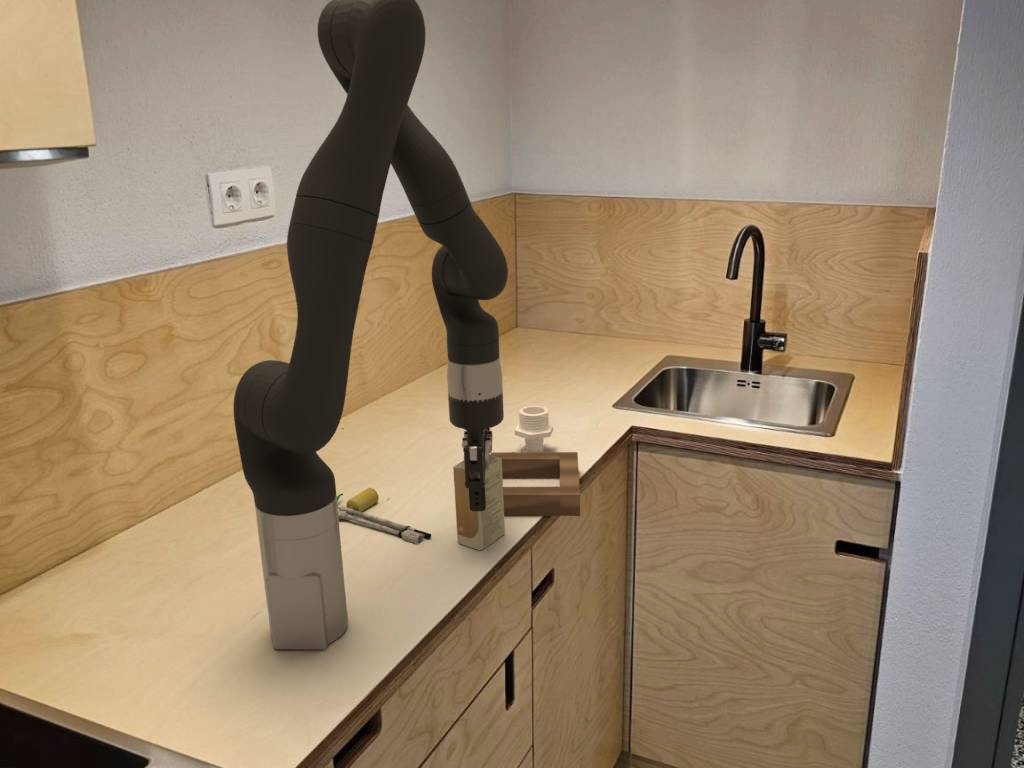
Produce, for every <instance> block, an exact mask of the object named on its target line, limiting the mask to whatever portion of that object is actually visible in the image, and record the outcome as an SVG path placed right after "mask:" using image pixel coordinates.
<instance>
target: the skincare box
mask: <svg viewBox="0 0 1024 768" xmlns="http://www.w3.org/2000/svg"><path fill="white" fill-rule="evenodd" d="M452 469H453V484H454V485H453V486H454V502H455V518H456V536H457V544H460V545H463V546H465V547H468V548H471V549H475V550H478V551H482V550H483V549H485V548H486V547H488V546H490V545H491V544H493V543H494V542H495V541H497V539H499V538H501V537H503V535H504V534H505V533H506V530H505V529H506V527H505V516H504V501H503V487H504V483H503V482H504V481H503V480H504V479H503V477H502V458H499V457H495V456H491V455H489V469H488V470H487V471H486V484H485V495H486V509H485V510H484V511H471V510H470V504H469V488H466V486H465V468H464V460H463V461H461V462H459V463H456V464H455V465H454V466H453V468H452ZM471 478H480V473H479V472H471Z"/></svg>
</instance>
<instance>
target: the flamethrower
mask: <svg viewBox="0 0 1024 768" xmlns="http://www.w3.org/2000/svg"><path fill="white" fill-rule="evenodd" d="M341 496H344V493H343V492H342V493H339V494H338V495H337V503H338V502H339V499H340V498H341ZM379 499H380V498H379V494H378V492H377V490H376V489H375V488H372V487H367V488H366V489H365V490H362V491H361V492H359V493H358V494H356V495H355V496H353V497H351V498H349V499H348V500H347V501H346V506H344V505H342V506H338V517H339V518H338V519H339V522H341V521H342V520H347V521H348V520H349V521H351V522H355V523H358V524H362V525H365V526H368V527H370V528H371V527H372V528H374V529H377V530H380V531H382V532H383V531H384V532H387V533H390V534H394V535H396V536H398V538H401V539H402V540H403V541H405V542H408V543H412V544H415V545H419V544H420V542H423V541H424V538H427V539H431V538H432V534H431V533H428V532H426V531H423V530H419V529H416V528H413V527H411V526H410V525H404V524H400V523H398V522H394V521H392V520H388V519H386V518H381V517H378V516H374V515H371V514H369V513H365V512H364V511H365V510H368V509H369V508H370V507H372V506H373V505H375V504H377V503H378V501H379ZM419 541H420V542H419Z"/></svg>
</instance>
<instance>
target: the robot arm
mask: <svg viewBox="0 0 1024 768" xmlns="http://www.w3.org/2000/svg"><path fill="white" fill-rule="evenodd" d="M424 18H425V17H424V15H423V12H422V9H421V7H420V5H419V3H418V2H417V0H330V1H329V2H327V4H326V5H325V6H324V7H323V9H322V10H321V13H320V16H319V17H318V21H317V40H318V45H319V48H320V51H321V53H322V55H323V57H324V58H323V59H325V61H326V63H327V65H328V67H329V69H330V70H331V72H332V73H333V75H334V76H335V78H336V80H337V81H338V83H339V84H340V86H341V87H342V89H343V90H344V91H345V93H346V99H345V102H344V104H343V107H342V110H341V112H340V114H339V116H338V119H337V120H336V122H335V123H334V125H333V127H332V128H331V130H330V132H329V133H328V134H327V136H326V137H325V139H324V141H323V142H322V144H321V145H320V146H319V147H318V148H317V151H316V152H315V153H314V155H313V157H312V158H311V160H310V162H309V163H308V165H307V167H306V169H305V170H304V172H303V174H302V177H301V179H300V182H299V183H298V187H297V190H296V195H295V199H294V203H293V208H292V211H291V217H290V221H289V224H288V230H287V238H286V253H287V260H288V267H289V272H290V277H291V281H292V286H293V291H294V297H295V302H296V310H297V312H296V313H297V319H296V320H297V321H296V330H295V336H294V341H293V346H292V352H291V357H290V360H289V362H286V361H282V360H274V359H271V360H270V359H269V360H263V361H260V362H257V363H255V364H253V365H252V366H250V367H249V368H248V369H247V370H245V372H244V373H243V375H242V376H241V377H240V379H239V381H238V383H237V385H236V389H235V392H234V398H233V420H234V421H233V422H234V428H235V434H236V439H237V444H238V445H237V446H238V451H239V455H240V462H241V467H242V472H243V475H244V479H245V481H246V484H247V485H248V486H249V489H250V490H251V492H252V495H253V499H254V500H253V501H254V507H255V518H256V525H257V526H256V527H257V533H258V542H259V549H260V550H259V551H260V557H261V558H260V559H261V567H262V576H263V582H264V591H265V592H264V593H265V598H266V607H267V615H268V623H269V624H268V625H269V631H270V633H269V634H270V637H271V639H272V645H273V649H274V650H326V649H327V648H328V646H329V644H331V643H332V642H333V641H335V640H337V639H338V638H340V637H341V636H342V635H343V634H344V633H345V632H346V630H347V628H348V626H349V617H348V608H347V606H348V605H347V596H346V595H347V594H346V585H345V576H344V574H345V573H344V565H343V564H344V563H343V554H342V553H343V551H342V544H341V543H342V542H341V530H340V519H338V518H339V517H338V511H339V509H338V507H339V505H338V502H337V496H338V495H337V487H336V479H335V478H336V477H335V474H334V472H333V470H332V469H331V468H330V466H329V465H328V464H327V463H326V462H325V461H324V460H323V459H322V458H321V457H320V456H319V455H318V453H317V452H319V451H320V450H322V449H323V448H324V447H325V446H326V445H327V444H328V443H329V442H330V441H331V440H332V438H333V437H334V435H335V434H336V431H337V429H338V427H339V425H340V422H341V419H342V416H343V412H344V408H345V407H344V406H345V401H346V394H347V387H348V379H349V371H350V370H349V369H350V361H351V354H352V353H351V352H352V345H353V337H354V330H355V326H356V320H357V315H358V311H359V306H360V305H359V304H360V302H361V301H360V300H361V297H362V290H363V285H364V281H365V275H366V271H367V267H368V264H369V263H368V262H369V260H370V259H369V258H370V255H371V252H372V248H373V244H374V239H375V235H376V230H377V226H378V221H379V218H380V217H379V216H380V212H381V205H382V201H383V195H384V190H385V187H386V183H387V180H388V175H389V171H390V168H391V166H392V169H393V170H394V172H395V174H396V176H397V179H398V180H399V183H400V185H401V187H402V189H403V191H404V193H405V195H406V198H407V200H408V202H409V205H410V207H411V208H412V210H413V212H414V215H415V217H416V219H417V222H418V224H419V227H420V228H421V230H422V232H423V233H424V235H425V236H426V237H427V238H428V239H430V240H432V241H433V242H436V243H438V244H439V245H441V246H440V248H439V249H438V250H437V252H436V253H435V255H434V258H433V261H432V264H431V281H432V282H431V283H432V287H433V288H432V289H433V292H434V295H435V298H436V301H437V304H438V309H439V312H440V315H441V319H442V321H443V323H444V326H445V330H446V350H447V351H446V352H447V369H446V371H447V373H446V379H447V381H446V382H447V399H448V413H449V415H448V416H449V417H448V419H449V422H450V424H451V425H452V426H454V427H455V428H457V429H461V430H464V431H463V436H464V437H462V438H461V439H462V441H461V442H462V445H461V447H462V449H463V450H462V452H463V461H464V468H465V486H466V488H469V504H470V510H471V511H484V510H485V509H486V495H485V484H486V471H487V470H488V469H489V455H491V453H490V452H493V436H494V434H493V433H494V432H493V430H491V428H494V427H496V426H498V425H500V424H501V423H502V422H503V420H504V419H505V418H504V413H505V412H504V390H503V389H504V387H503V371H502V364H501V358H500V337H499V336H500V335H499V324H498V321H497V320H496V318H495V317H494V316H493V315H492V314H490V313H489V312H487V311H486V310H485V309H483V307H482V306H481V304H480V301H490V300H493V299H495V298H497V297H498V296H500V295H501V293H502V292H503V291H504V289H506V285H507V282H508V277H509V268H508V262H507V259H506V256H505V253H504V251H503V249H502V248H501V246H500V244H499V243H498V241H497V240H496V237H494V235H493V234H492V233H491V231H490V230H489V228H488V226H487V225H486V224H485V223H484V221H483V219H482V218H481V217H480V216H479V215H478V214H477V213H476V210H475V209H474V207H473V206H472V202H471V200H470V197H469V195H468V192H467V190H466V187H465V185H464V182H463V181H462V178H461V175H460V173H459V171H458V168H457V166H456V164H455V163H454V161H453V159H452V158H451V156H450V155H449V153H448V151H447V150H446V149H445V148H444V147H443V145H442V144H441V143H440V142H439V141H438V140H437V139H436V137H435V136H434V135H433V134H432V133H431V131H430V130H429V129H428V128H427V127H426V126H425V125H424V124H423V123H422V121H420V119H419V118H418V117H417V115H416V114H415V113H414V112H413V110H412V109H411V107H410V105H409V104H408V103H409V100H410V97H411V95H412V92H413V89H414V86H415V83H416V80H417V77H418V74H419V71H420V68H421V65H422V61H423V58H424V52H425V47H426V34H427V33H426V26H425V25H426V24H425V19H424ZM471 472H479V473H480V478H471Z"/></svg>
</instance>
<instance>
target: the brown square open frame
mask: <svg viewBox="0 0 1024 768" xmlns="http://www.w3.org/2000/svg"><path fill="white" fill-rule="evenodd" d="M490 453H491V456H495V457H499V458H502V477H503V480H504V479H505V480H507V479H510V480H511V479H516V480H517V479H521V480H522V479H527V480H528V479H529V480H530V479H531V480H534V479H543V480H544V479H547V480H549V479H559V486H503V501H504V517H580V516H581V488H580V487H581V486H580V472H579V471H580V469H579V456H578V455H579V453H578V452H577V451H561V452H560V451H555V452H554V451H550V452H549V451H546V452H545V451H543V452H526V451H524V452H523V451H522V452H520V451H519V452H516V451H515V452H514V451H513V452H512V451H511V452H506V451H505V452H504V451H503V452H496V451H495V452H494V451H492V452H490Z"/></svg>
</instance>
